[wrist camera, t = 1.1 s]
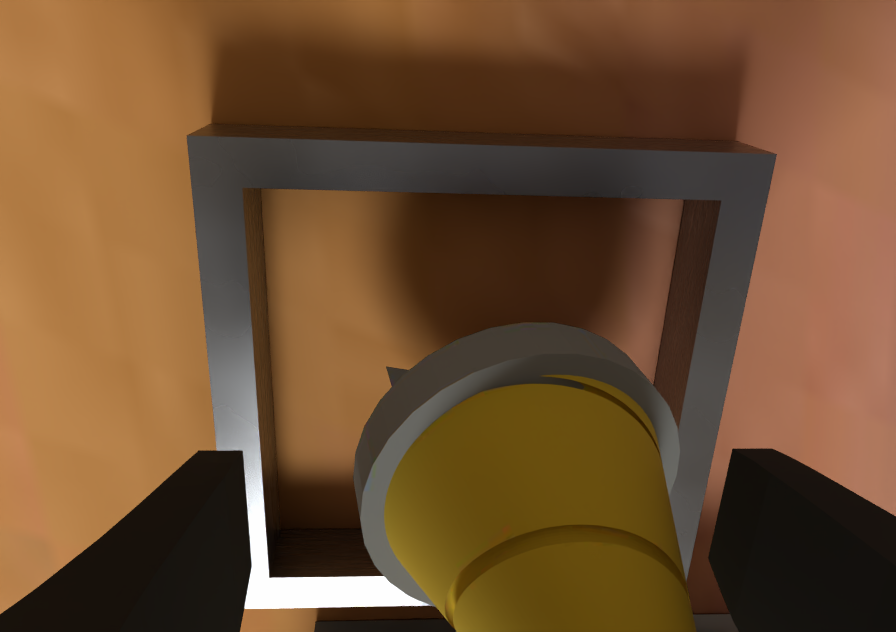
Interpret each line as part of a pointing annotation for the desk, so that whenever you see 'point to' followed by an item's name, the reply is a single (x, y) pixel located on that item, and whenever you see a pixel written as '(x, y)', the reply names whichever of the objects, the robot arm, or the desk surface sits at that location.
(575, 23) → the desk surface
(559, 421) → the drill bit
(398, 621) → the bin
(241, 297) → the grey square frame
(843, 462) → the desk surface
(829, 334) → the desk surface
